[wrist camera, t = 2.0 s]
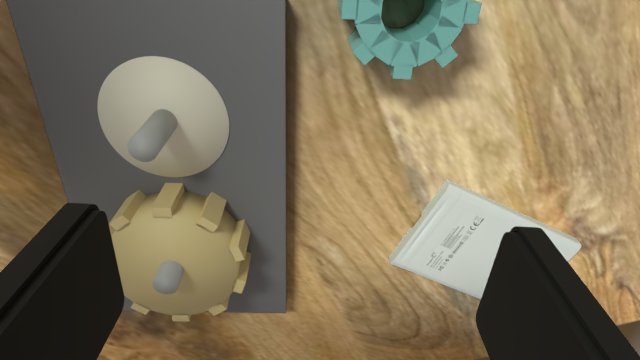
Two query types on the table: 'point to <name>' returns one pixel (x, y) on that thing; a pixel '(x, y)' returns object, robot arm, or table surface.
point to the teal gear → (408, 33)
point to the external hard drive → (465, 239)
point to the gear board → (172, 140)
